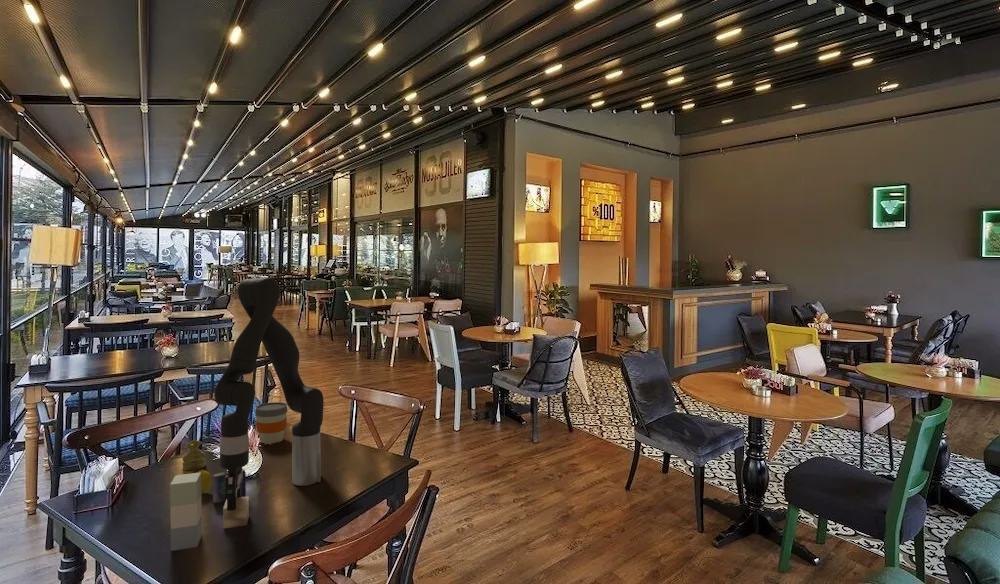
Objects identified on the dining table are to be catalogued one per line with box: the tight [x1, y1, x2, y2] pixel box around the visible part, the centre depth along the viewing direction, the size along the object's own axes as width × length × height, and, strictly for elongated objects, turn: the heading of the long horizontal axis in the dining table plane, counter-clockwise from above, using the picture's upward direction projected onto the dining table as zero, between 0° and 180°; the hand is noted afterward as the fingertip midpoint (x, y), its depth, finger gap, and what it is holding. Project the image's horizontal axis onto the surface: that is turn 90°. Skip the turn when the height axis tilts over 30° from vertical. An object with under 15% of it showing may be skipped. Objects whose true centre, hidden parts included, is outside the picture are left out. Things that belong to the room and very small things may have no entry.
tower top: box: [169, 472, 202, 507], centre depth 134 cm, size 6×6×6 cm
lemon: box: [196, 469, 213, 495], centre depth 163 cm, size 6×6×8 cm
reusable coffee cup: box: [254, 401, 288, 445], centre depth 212 cm, size 12×13×15 cm
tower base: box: [170, 514, 203, 552], centre depth 135 cm, size 6×6×6 cm
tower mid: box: [170, 494, 203, 530], centre depth 135 cm, size 6×6×6 cm
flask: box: [212, 468, 247, 504], centre depth 160 cm, size 9×3×11 cm, turn 121°
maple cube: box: [222, 495, 250, 529], centre depth 146 cm, size 6×6×6 cm
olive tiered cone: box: [181, 439, 207, 472], centre depth 184 cm, size 7×7×10 cm
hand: (234, 503), depth 146 cm, fingers open, 8 cm apart
